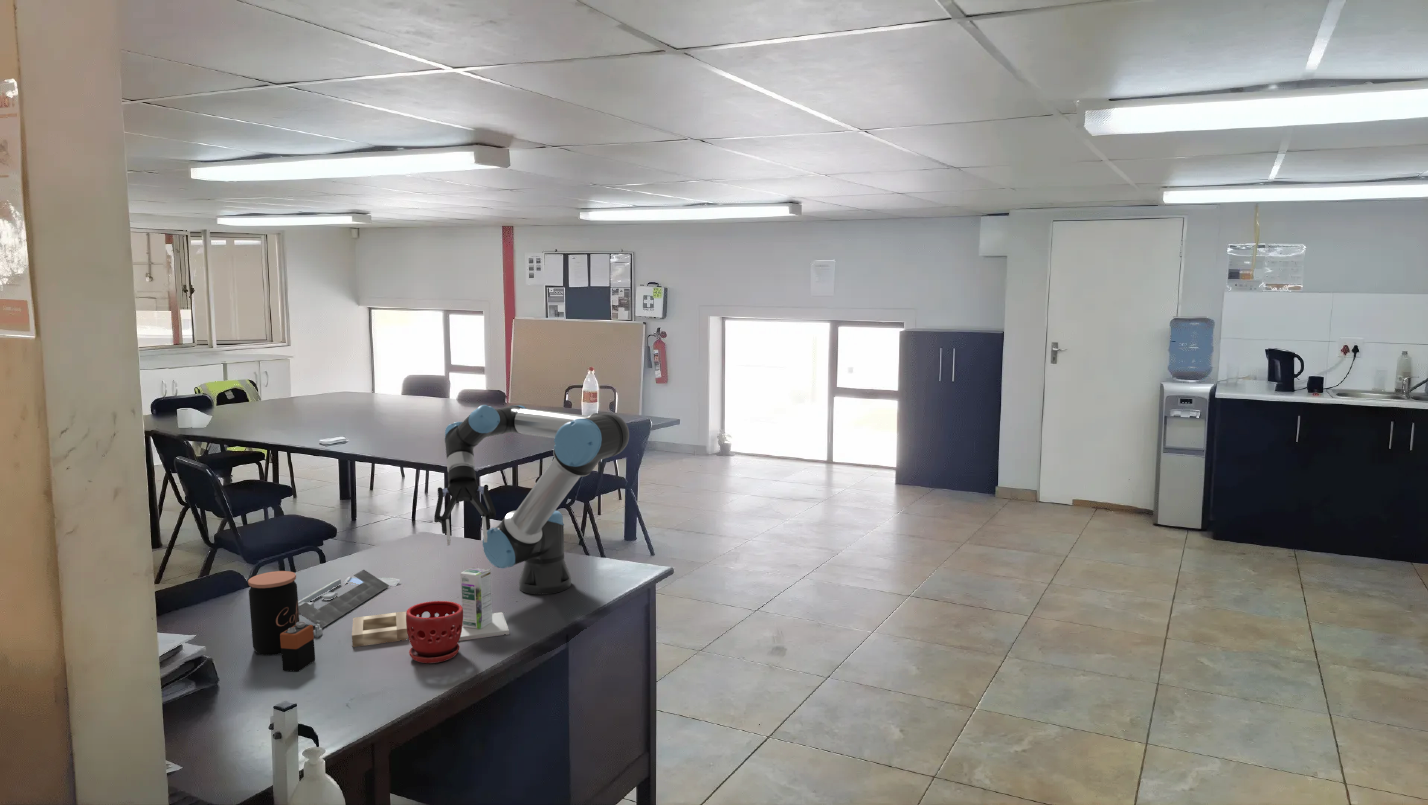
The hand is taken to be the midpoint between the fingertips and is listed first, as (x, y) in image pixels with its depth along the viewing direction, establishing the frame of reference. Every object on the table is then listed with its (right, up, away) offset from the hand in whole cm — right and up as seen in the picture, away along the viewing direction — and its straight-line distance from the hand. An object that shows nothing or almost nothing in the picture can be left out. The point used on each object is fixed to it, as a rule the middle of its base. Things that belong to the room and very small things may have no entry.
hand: (467, 541), depth 243 cm
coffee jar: (-42, -24, -18) cm, 52 cm away
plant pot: (-1, -24, -24) cm, 34 cm away
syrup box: (+5, -21, -7) cm, 22 cm away
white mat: (+5, -22, -7) cm, 23 cm away
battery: (-32, -25, -29) cm, 50 cm away
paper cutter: (-40, -20, +11) cm, 47 cm away
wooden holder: (-20, -22, -10) cm, 31 cm away
